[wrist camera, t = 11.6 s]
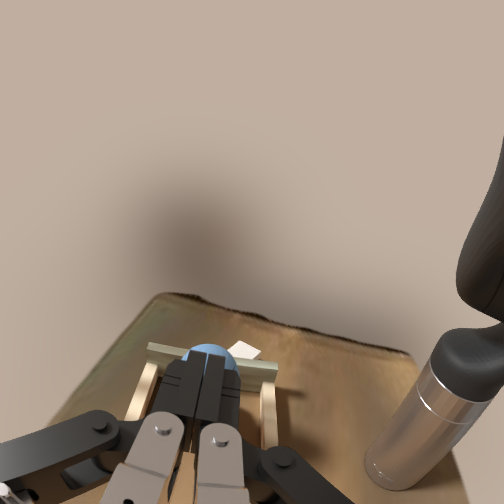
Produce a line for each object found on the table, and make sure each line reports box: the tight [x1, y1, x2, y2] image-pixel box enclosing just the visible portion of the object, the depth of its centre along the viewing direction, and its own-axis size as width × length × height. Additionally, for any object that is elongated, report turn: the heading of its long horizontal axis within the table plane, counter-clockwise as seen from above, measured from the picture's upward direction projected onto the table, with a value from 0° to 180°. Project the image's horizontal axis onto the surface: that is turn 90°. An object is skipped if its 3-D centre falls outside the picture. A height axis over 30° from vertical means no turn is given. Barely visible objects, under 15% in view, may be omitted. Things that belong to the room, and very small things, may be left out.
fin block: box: [227, 341, 261, 360], centre depth 46 cm, size 5×4×3 cm
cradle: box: [124, 342, 278, 450], centre depth 36 cm, size 13×18×5 cm
